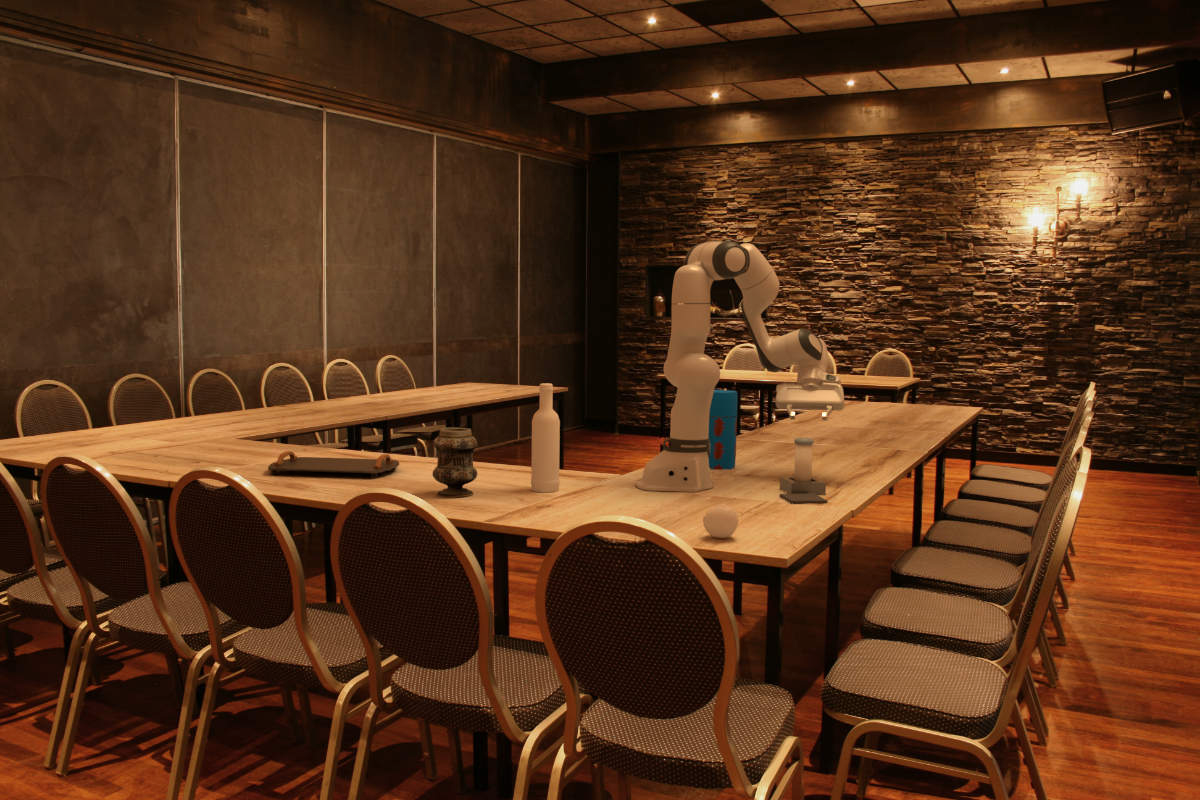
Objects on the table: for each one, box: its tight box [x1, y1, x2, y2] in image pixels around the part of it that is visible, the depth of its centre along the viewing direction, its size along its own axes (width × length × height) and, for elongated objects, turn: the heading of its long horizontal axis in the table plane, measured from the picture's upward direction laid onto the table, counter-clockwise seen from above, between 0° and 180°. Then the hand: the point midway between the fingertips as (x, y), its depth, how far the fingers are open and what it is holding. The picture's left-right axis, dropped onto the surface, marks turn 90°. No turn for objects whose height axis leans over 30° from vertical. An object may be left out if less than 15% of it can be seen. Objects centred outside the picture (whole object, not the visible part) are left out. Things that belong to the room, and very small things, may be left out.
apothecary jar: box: [432, 427, 478, 498], centre depth 264 cm, size 12×12×18 cm
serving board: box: [267, 450, 400, 480], centre depth 299 cm, size 39×23×6 cm, turn 84°
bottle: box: [530, 382, 561, 494], centre depth 272 cm, size 8×8×30 cm
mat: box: [779, 493, 828, 505], centre depth 265 cm, size 10×10×1 cm
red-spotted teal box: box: [708, 389, 738, 470], centre depth 318 cm, size 11×11×25 cm
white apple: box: [702, 504, 739, 539], centre depth 219 cm, size 8×8×8 cm
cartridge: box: [793, 437, 815, 482], centre depth 277 cm, size 5×5×15 cm
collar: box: [779, 476, 827, 496], centre depth 277 cm, size 10×10×4 cm
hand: (808, 418), depth 288 cm, fingers open, 8 cm apart
